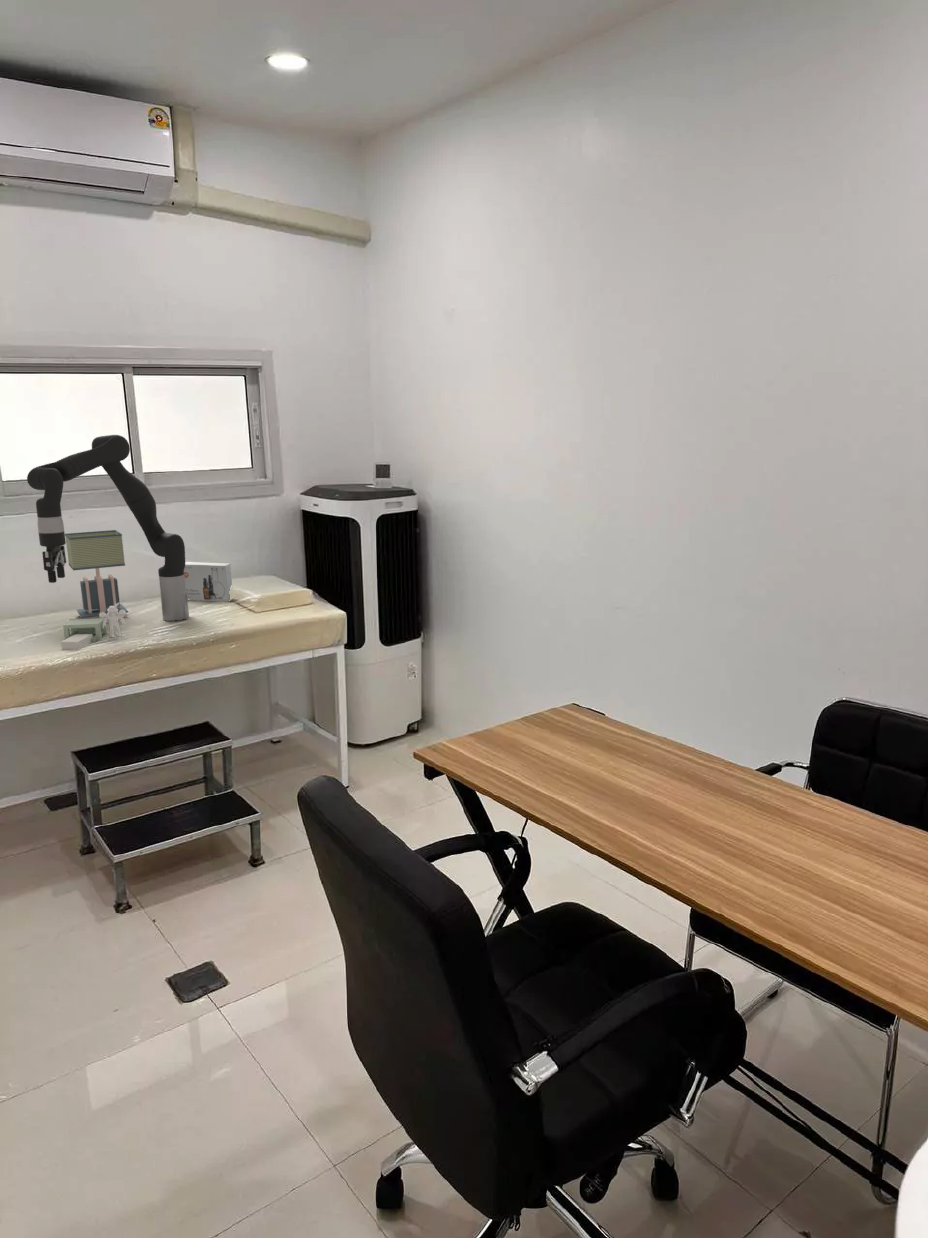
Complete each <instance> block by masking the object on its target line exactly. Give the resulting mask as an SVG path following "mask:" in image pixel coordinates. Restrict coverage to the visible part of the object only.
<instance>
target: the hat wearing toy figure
mask: <svg viewBox="0 0 928 1238" xmlns="http://www.w3.org/2000/svg"><path fill="white" fill-rule="evenodd" d="M120 602H121V601H120ZM120 602H118V603H117V604H115V606H109V608H108V609H107V611H108V613H107V615H106V614H105V613H104V612H102V613H101V612H100V614H99V616H100V618H102V619H104V621H103V624H102V628H103V629H104V626H105V625H107V624H108V625H109V626H108V628H109V638H110V637H113V638H115V636H116V637H118V636H119V637H122V632H121V628H120V624H119V620H120V621H122V622H121V625H124V627H126V626H127V621H126V620H125V617H126V616H127V613H126V612H125V610H124V611H123V610H120V611H119V613H118V609H117V608H115V607H117V606H116V605H119V603H120ZM120 604H121V603H120ZM122 615H124V616H125V617H124V616H122ZM104 617H105V618H104ZM105 623H106V624H105ZM114 629H115V631H114Z"/></svg>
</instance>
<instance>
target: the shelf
mask: <svg viewBox="0 0 928 1238" xmlns="http://www.w3.org/2000/svg"><path fill="white" fill-rule="evenodd" d="M103 621H104V619H102V618H84V619H83V618H70V619H69V620H68V621H66V622H65V623H64V624H63V625H62V628H63V629H62V630H63V636H64V637H63V638H64V640H65V639H67V638H69V637H71V636H73V635H75V634H92V635H93V637H92V638H91V639H92V642H94V643H96V642H97V641H98V640H102V639H103V635H107V634H108V627H107V622H106V623H105V624H106V625H105V626H104V629H103V628H102V624H103ZM92 642H91V643H92Z"/></svg>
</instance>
